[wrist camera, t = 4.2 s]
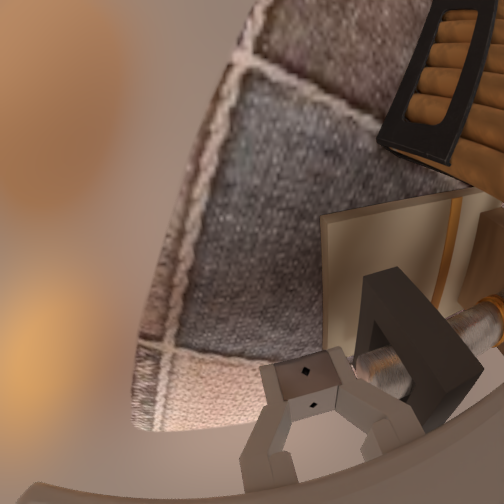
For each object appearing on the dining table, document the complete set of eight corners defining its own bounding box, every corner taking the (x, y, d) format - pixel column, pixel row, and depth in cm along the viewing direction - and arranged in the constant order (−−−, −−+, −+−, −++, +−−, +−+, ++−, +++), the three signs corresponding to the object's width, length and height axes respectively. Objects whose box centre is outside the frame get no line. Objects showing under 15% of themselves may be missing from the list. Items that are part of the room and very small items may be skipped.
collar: (397, 266, 13) (484, 368, 7) (379, 354, 17) (428, 441, 11) (363, 276, 13) (446, 393, 7) (352, 364, 17) (396, 457, 11)
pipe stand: (495, 183, 15) (584, 241, 8) (467, 297, 21) (524, 362, 13) (319, 215, 14) (425, 346, 7) (322, 353, 20) (367, 459, 12)
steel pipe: (519, 267, 13) (547, 292, 10) (506, 301, 15) (530, 327, 12) (358, 339, 12) (387, 391, 10) (352, 375, 14) (374, 422, 11)
